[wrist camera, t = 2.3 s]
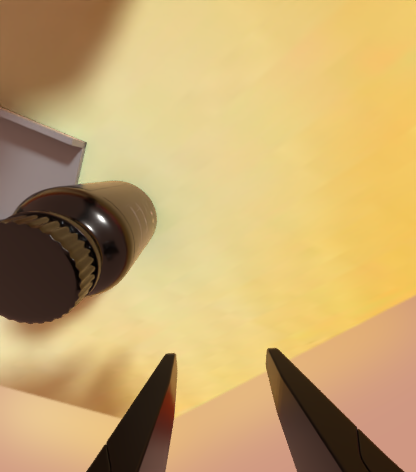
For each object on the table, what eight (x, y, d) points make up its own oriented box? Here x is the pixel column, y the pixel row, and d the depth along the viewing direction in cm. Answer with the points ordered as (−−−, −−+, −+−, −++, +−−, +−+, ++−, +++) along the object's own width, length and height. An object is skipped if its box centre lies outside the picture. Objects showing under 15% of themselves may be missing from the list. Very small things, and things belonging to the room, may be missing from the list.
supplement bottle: (94, 251, 21) (-36, 348, 9) (79, 181, 19) (-112, 195, 7) (162, 248, 21) (116, 339, 9) (154, 178, 19) (84, 187, 7)
